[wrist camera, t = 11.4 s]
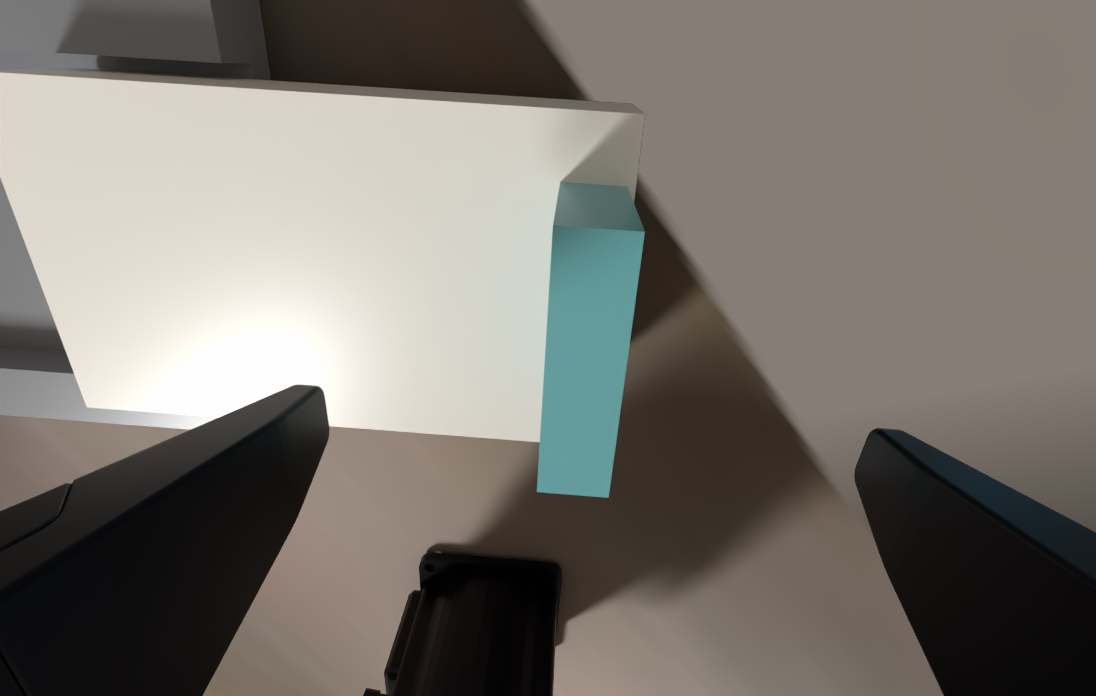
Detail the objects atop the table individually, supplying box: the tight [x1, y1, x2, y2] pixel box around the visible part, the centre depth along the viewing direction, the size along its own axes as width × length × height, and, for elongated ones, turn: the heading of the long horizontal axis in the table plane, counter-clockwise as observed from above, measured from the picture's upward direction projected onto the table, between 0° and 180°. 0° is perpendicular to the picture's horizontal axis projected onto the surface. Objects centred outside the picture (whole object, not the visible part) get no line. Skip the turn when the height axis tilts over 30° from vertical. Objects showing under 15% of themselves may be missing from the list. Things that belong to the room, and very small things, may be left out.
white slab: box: [0, 68, 645, 498], centre depth 15 cm, size 16×9×8 cm, turn 87°
